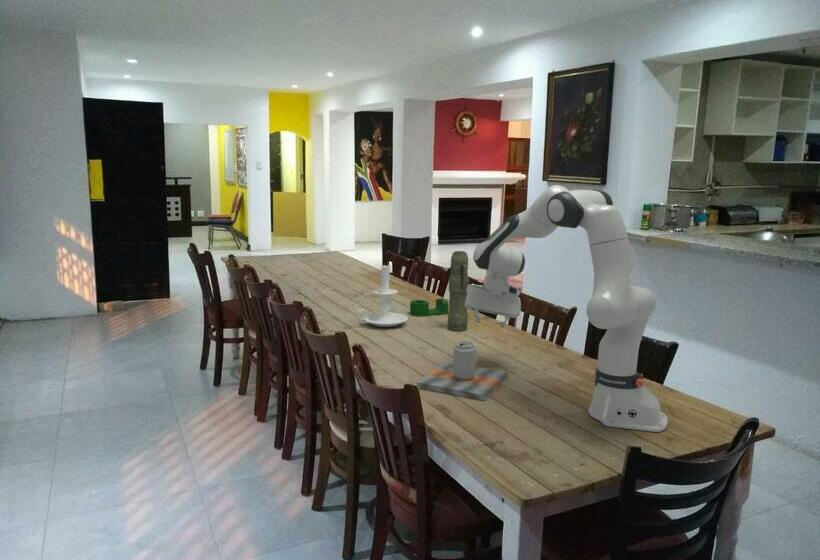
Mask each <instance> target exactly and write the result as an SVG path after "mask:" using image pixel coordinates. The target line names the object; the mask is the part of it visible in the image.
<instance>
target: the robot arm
mask: <svg viewBox="0 0 820 560" xmlns="http://www.w3.org/2000/svg"><path fill="white" fill-rule="evenodd" d="M613 203H614V202H613V199H612V197H611V195H610V194H609V193H607V192H606V191H604V190H600V189H573V190H569V189H567V187H564V186H562V185H559V184H558V185H557V184H553V185H550V186H549V187H548V188H546V189H545V190H544V191H543V192H542V193H541V194H540V195H539V196H538V197H537V198H536V199H535V200H534V202H532V204H531V205H530V206H529V207H528V208H527V209H525V210H524V211H522V212H519V213H517V214H514V215H511V216H510V217H509V218H507V219H506V220H505V221H504V222H502V224H501V225H499V227H498V228H497V229H496V230H494V231H493V232H492V233H491V234H490V235H489V236H488V237H487V238H486V239H485V240H483V241H480V243H478V244H477V246H476V247H475V248H474V251H473V255H472V257H473V258H472V259H473V262H474V264H475V265H476V266H477V268H478V269H481V270H485V271H486V272H485V273H486V274H485V276H484V278H483V280H484V281H483V285H480V284H475V283H471V284H469V285H468V286H467V290H466V292H467V297H466V301H465V307H466V308H467V310H473V312H472V313H473V315H474V317H475V320H474V322H475V323H479V324H480V322H481V317H482V316H479V314H478V313H479V312H483V313H488V314H493V315H499V316H503V317H504V319H505V320H504V321H501V322H500V328H503V329H505V328H506V326H507V323H508V321H509V320H510V319H511V318H513V319H517V318H518V317H520V315H521V309H522V303H521V298H520V297H519V296H520V293H521V291H520V290H519V289H518V288H516V287H515V286H513V285H511V284H509V278H511V277H512V278H513V277H516V276H518V275H520V274H521V273H523V271H524V269H525V265H526V258H525V255H524V253H523V252H522V251H521V250H518V249H514V248H511V247H509V246H507V245H505V244H506V243H507V242H508V241H509V240H512V239H515V238H516V239H517V238H529V239H530V238H531V239H532V238H533V239H543V238H547V237H548V236H550V235H551V234H553V233H554V232H555V231H556V229H557V228H558V227H561V228H562V227H563V228H570V229H577V228H578V227H580V228H583V230H585V232H586V234H587V240H588V245H589V251H590V255H591V260H592V261H591V263H592V267H593V288H592V294H591V297H590V299H589V301H588V303H587V305H586V310H585V311H586V316H587V319H588V320H589V323H590V324H592V326H594V327H596V328H597V329H600V330H606V331H605V333H604V335H603V336H602V338H601V340H600V341H599V345H598V355H597V366H596V368H595V370H594V381H593V382H594V391H593V395H592V400H591V402H590V403H591V404H590V406H589V408H588V409H587V410H588V411H587V413H588V414H589V415H590V416H591V417H592V418H593V419H596V420H597V421H600V422H601V423H602V424H603V425H604V426H607V427H613V428H620V429H629V430H637V431H644V432H655V433H660V432H663V431H665V430H666V428H667V427H668V425H669V424H668V423H669V421H668V420H669V418H668V416H667V415H666V414H665V413H664V412H662V410H661V404H660V402H659V401H660V400H659V399H658V398H657V396H656V395H654V394H653V393H652V392H651V391H650V390H648V389H647V388H646V387H645V386H644V376H643V375H644V374H643V373H639V371H637V367H638V357H639V350H640V349H639V348H640V344H641V341H642V339H643V335H644V333H645V330H646V326H647V324H648V322H649V319H650V318H651V316H652V315H653V313H654V312H655V310H656V306H657V302H656V298H655V295H654V294H653V292H652V291H651V290H650V289H648V288H646V287H643V286H639V285H638V286H635V285H629V278H630V273H631V271H632V268H633V267H634V260H633V256H632V252H631V246H630V242H629V236H628V231H627V228H626V225H625V222H624V220H623V217H622V215H621V212H620V211H619V209H618V207H616V206H614V204H613Z"/></svg>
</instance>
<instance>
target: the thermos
mask: <svg viewBox="0 0 820 560" xmlns="http://www.w3.org/2000/svg"><path fill="white" fill-rule="evenodd" d="M468 270H469V256H468V253H467V252H466V251H462V250H456V251H453V252H452V254H451V258H450V275H449V278H448V292H449V301H448V314H447V330H448V331H451V332H458V333H459V332H466V331H467V330H468V324H469V320H468V318H469V315H468V308H466V307H465V301H466V297H467V292H466V290H467V286H468V285H470V284H469V283H470V278H469V273H468Z"/></svg>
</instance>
